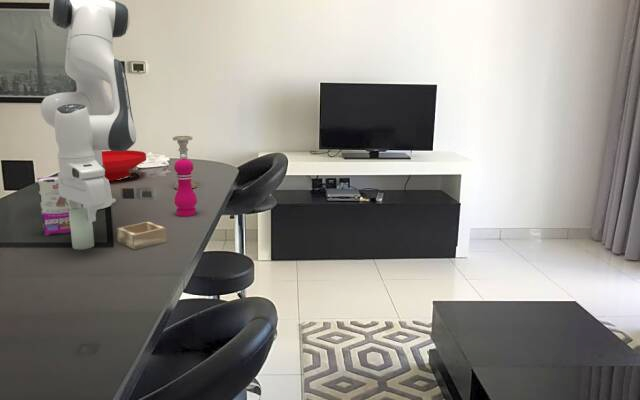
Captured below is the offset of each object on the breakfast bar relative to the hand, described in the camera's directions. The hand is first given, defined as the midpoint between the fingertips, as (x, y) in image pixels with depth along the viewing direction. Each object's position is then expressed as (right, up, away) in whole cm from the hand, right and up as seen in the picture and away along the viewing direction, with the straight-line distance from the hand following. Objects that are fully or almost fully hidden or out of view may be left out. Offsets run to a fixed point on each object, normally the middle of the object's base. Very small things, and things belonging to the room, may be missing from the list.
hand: (83, 218), depth 148 cm
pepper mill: (+19, 0, +34) cm, 39 cm away
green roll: (-1, -8, +2) cm, 8 cm away
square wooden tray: (+14, -7, +6) cm, 17 cm away
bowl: (-27, +14, +89) cm, 94 cm away
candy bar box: (-12, -5, +15) cm, 19 cm away
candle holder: (+10, +10, +72) cm, 74 cm away
